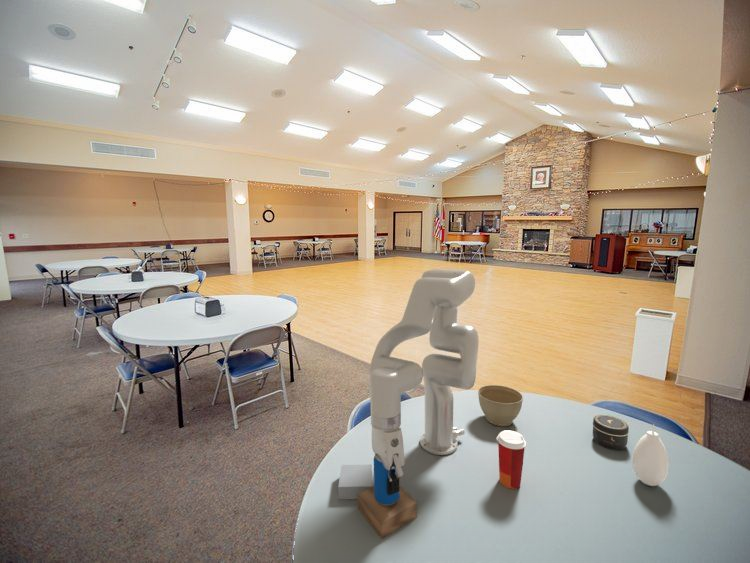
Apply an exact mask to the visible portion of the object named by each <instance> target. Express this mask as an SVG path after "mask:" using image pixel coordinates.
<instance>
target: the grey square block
mask: <svg viewBox="0 0 750 563" xmlns="http://www.w3.org/2000/svg"><path fill="white" fill-rule="evenodd" d="M339 471H340V472H339V480H338V486H337V488H338V490H337V491H338V500H357V494H359V493H361V492H363V491H365V490H367V489H369V488H371V487H373V465H372V464H341V466H340V470H339Z"/></svg>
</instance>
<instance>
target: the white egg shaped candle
mask: <svg viewBox="0 0 750 563" xmlns="http://www.w3.org/2000/svg"><path fill="white" fill-rule="evenodd" d="M668 457H669V456H668V453H667V449H666V447H665V445H664V442H663V441H662V440H661V438H660V435H659V433H657V432H655V424H654V423H653V424H652V428H651V430H648V431H646V433H645V434H643V436H641V438H639V439H638V441H637V443H636V445H635V447H634V449H633V453H632V458H631V460H632V468H633V470H634V473H635V475H636V477H637V478H638V479H639V480H640V482H642V483H643V484H645V485H647V486H651V487H655V486H659V485H661V484H662V483H663V482H664V481H665V479H666V478H667V477H668V472H669V468H670V467H669V463H670V462H669V458H668Z"/></svg>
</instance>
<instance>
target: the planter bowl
mask: <svg viewBox="0 0 750 563" xmlns="http://www.w3.org/2000/svg"><path fill="white" fill-rule="evenodd" d="M477 394H478V402H479V406H480V409H481V410H482V413H483V414H484V416H485V419H486V421H487V422H488V423H491V425H494V426H498V427H509V426H511V425H512V424H513V421H514V420H515V419H516V418H517V417H518V415H519V414H520V412H521V409H522V405H523V401H524V396H523V394H522V393H521V391H518V390H517V389H515V388H512V387H509V386H505V385H498V384H490V385H489V384H488V385H484V386H481V387H480V388H479V389H478V390H477Z"/></svg>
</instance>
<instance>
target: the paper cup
mask: <svg viewBox="0 0 750 563" xmlns="http://www.w3.org/2000/svg"><path fill="white" fill-rule="evenodd" d="M496 441H497V444H498V472H499V473H498V475H499V483H500V484H501V485H503V487H505V488H508V489H510V490H516V489H519V488H520V487H521V483H522V474H523V465H524V464H523V463H524V457H525V456H524V455H525V449H526V448H525V447H526V446H527V442H526V440H525V438H524V436H523V435H522V434H521V433H519V432H517V431H514V430H508V429H507V430H505V429H504V430H502V431H500V432H499V433H498V435H497V436H496Z"/></svg>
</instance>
